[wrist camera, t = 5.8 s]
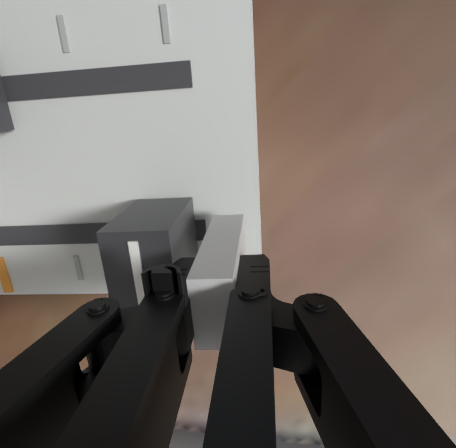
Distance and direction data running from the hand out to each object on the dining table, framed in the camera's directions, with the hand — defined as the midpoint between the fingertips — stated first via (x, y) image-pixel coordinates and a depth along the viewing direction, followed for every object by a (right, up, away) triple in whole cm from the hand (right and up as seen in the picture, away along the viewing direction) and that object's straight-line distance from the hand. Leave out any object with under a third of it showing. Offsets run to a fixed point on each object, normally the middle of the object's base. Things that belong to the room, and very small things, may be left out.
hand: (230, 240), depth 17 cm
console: (-9, +5, +3) cm, 11 cm away
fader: (-3, 0, +2) cm, 4 cm away
